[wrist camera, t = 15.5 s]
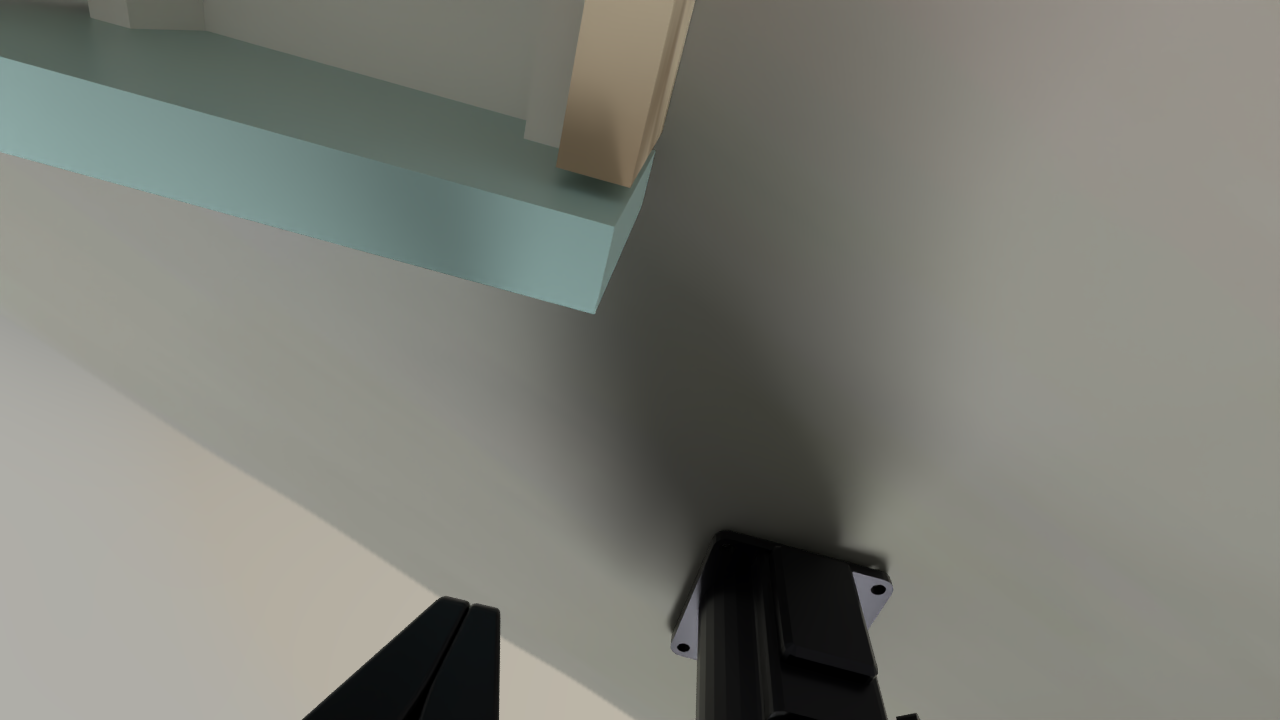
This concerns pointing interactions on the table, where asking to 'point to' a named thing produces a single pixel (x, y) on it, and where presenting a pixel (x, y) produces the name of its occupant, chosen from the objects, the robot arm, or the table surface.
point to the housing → (621, 85)
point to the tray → (332, 124)
